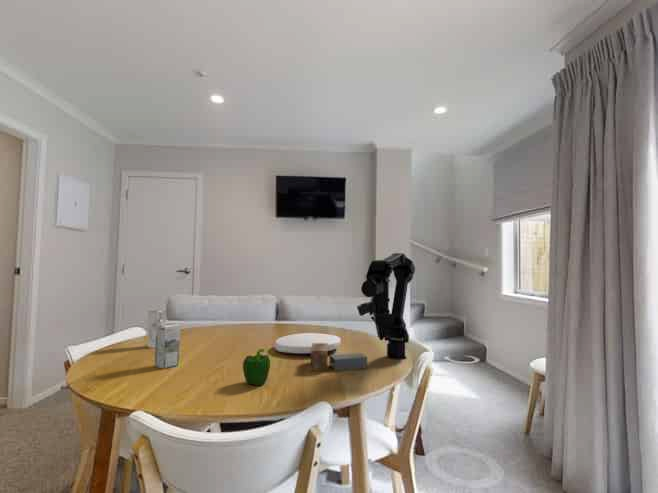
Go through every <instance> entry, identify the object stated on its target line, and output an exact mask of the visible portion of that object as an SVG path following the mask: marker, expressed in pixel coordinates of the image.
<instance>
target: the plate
mask: <svg viewBox="0 0 658 493" xmlns="http://www.w3.org/2000/svg"><path fill="white" fill-rule="evenodd" d="M341 341H342V340H341V338H340V337H339V336H336V335H333V334H327V333H318V332H317V333H316V332H305V333H303V332H302V333H294V334H289V335H285V336H281V337H279V338H278V339H276V340H275V341H274V349H275V350H276V351H277V352H280V353H288V354H311V348H312V343H328V351H332V350H335V349H337V348H339V347H340V346H341V343H342V342H341Z"/></svg>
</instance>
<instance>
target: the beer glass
mask: <svg viewBox="0 0 658 493" xmlns="http://www.w3.org/2000/svg"><path fill="white" fill-rule="evenodd" d="M165 312H166V310H159V309H158V310H149V311H147V318H146V326H147V334H148V341H147V346H146V347H147V348H149V349H156V329H157V325H163V324H166V315H165V314H166V313H165Z"/></svg>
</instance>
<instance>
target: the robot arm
mask: <svg viewBox="0 0 658 493" xmlns="http://www.w3.org/2000/svg"><path fill="white" fill-rule="evenodd" d="M415 273H416V266H415V264H414V263H413V260H411V259H410V258H408V257H407V256H406V254H405V253H401V252H400V253H398V252H397V253H396V252H395V253H391V255H390V256H387V257H386V258H384V259H373V260H372V261H371V262H370V264H369V266H368V270H367V273H366V276H365V279H366V280H365V281H364V282H363V283H362V285H361V288H360V289H361V293H362V294H363V295H364V296H365V297H366V298H370V301H368V302H363V303H361V304H359V305H357V306H356V308H357V311H358V314H359V316H361V317H362V316H365V315H366V314H369V316H370V319H372V322H373V323H374V326H375V329H376V335H377V338H378V339H379V340H380V341H383V340H384V341H386V342H387V344H386V355H387V356H388V358H389V359H407V356H406V343H409V342H410V341H409V340H410V335H409V333H408V330H407V324H406V322H405V319H404V311H405V306H406V298H407V292H408V285H409V283H410V282H412V280H413V277H414V274H415ZM391 274H393V276H394V278H395V288H394V296H393V302H392V306H391V313H390V309H389V308H390V307H389V302H391V301H390V300H391V298H390V297H389V296H390V295H389V292H390V289H389V287H390V286H389V285H390V282H391V280H390V277H391Z"/></svg>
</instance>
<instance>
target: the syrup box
mask: <svg viewBox="0 0 658 493" xmlns="http://www.w3.org/2000/svg"><path fill="white" fill-rule="evenodd" d="M180 336H181V325H179V324H178V323H174V322H173V323H172V322H171V323H165V324H163V325H157V329H156V348H155V354H154V355H155V356H154V367H156V368H159V369H162V370H165V369H170V368H173V367H177V366H179V358H180V357H179V356H180V342H181V341H180V339H181V338H180Z"/></svg>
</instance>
